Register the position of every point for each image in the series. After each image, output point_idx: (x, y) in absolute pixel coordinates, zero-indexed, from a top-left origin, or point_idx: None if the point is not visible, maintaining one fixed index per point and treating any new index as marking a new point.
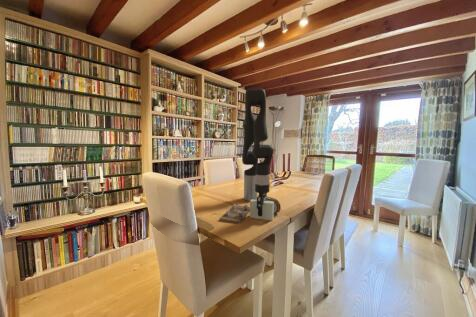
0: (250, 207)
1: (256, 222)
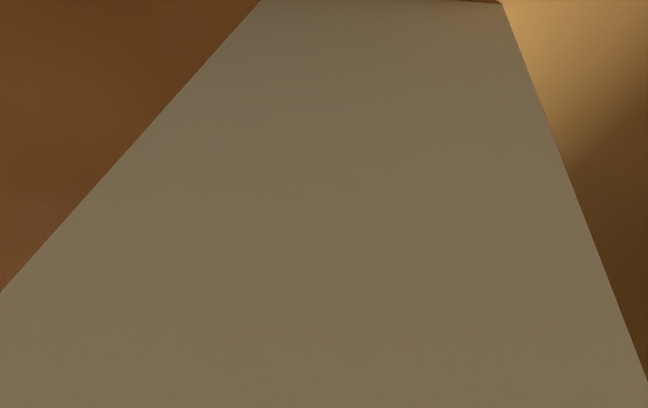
0: (135, 179)
1: (31, 208)
